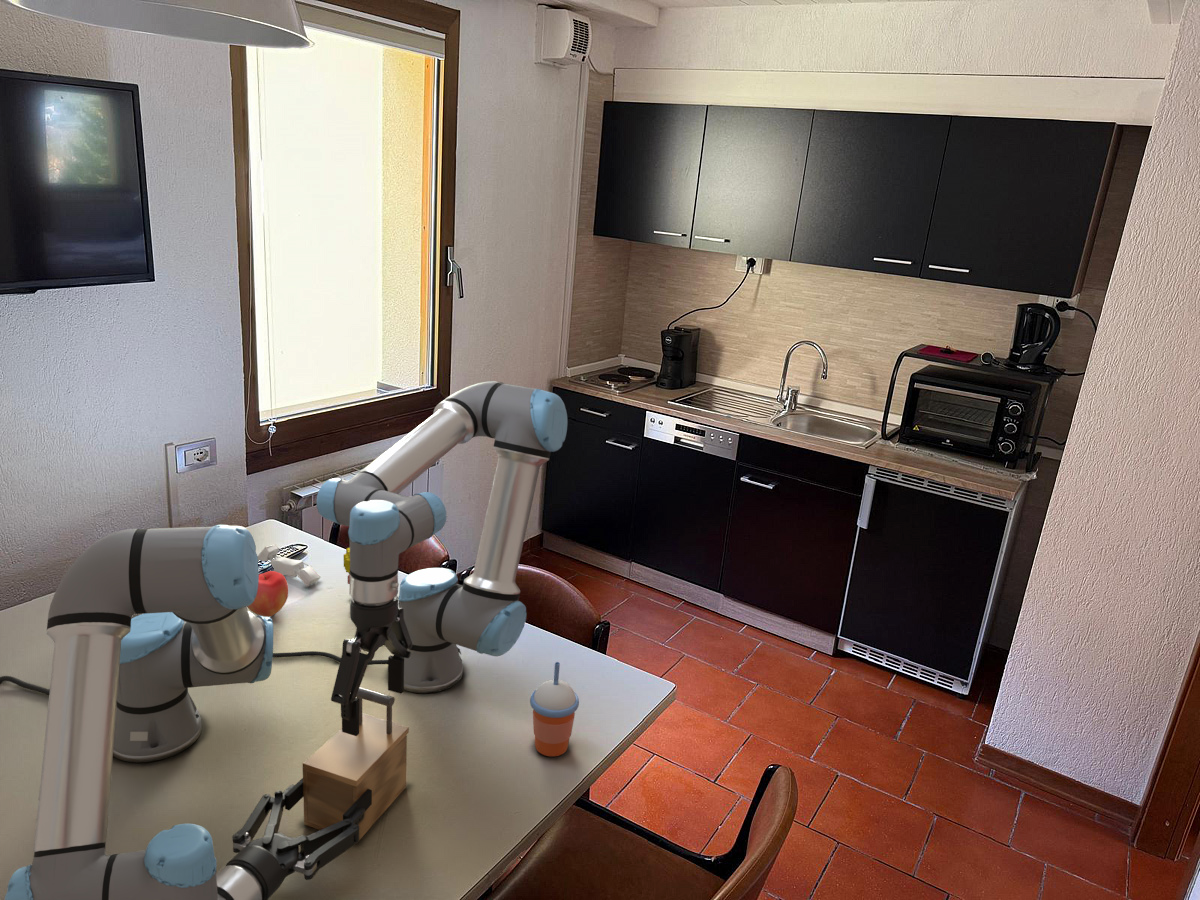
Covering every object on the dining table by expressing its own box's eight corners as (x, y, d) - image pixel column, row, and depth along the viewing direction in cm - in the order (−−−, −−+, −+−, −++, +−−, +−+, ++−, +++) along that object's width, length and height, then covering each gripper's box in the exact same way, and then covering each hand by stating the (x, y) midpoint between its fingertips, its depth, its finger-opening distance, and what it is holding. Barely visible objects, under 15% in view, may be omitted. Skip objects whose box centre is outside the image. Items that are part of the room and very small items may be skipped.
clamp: (253, 565, 223) (254, 542, 221) (265, 560, 226) (266, 537, 224) (309, 593, 215) (310, 569, 213) (320, 588, 218) (321, 564, 216)
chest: (357, 771, 151) (356, 719, 148) (406, 787, 149) (407, 734, 145) (304, 824, 138) (302, 769, 135) (356, 843, 135) (356, 787, 132)
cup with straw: (568, 766, 157) (575, 680, 152) (521, 756, 158) (526, 671, 153) (580, 737, 165) (586, 655, 160) (534, 728, 167) (540, 646, 162)
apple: (273, 600, 207) (272, 562, 204) (297, 613, 202) (296, 575, 199) (237, 614, 200) (234, 575, 197) (261, 628, 194) (259, 588, 191)
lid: (358, 717, 149) (358, 676, 147) (408, 732, 146) (409, 691, 144) (302, 769, 135) (301, 724, 133) (356, 787, 132) (356, 742, 130)
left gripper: (179, 881, 122) (283, 786, 142) (312, 935, 115) (402, 826, 135) (175, 838, 120) (282, 747, 140) (311, 890, 113) (402, 787, 133)
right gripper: (347, 636, 125) (349, 759, 131) (433, 571, 147) (431, 680, 153) (305, 624, 127) (308, 746, 133) (396, 562, 149) (395, 669, 156)
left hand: (341, 786), depth 138 cm, fingers closed on chest, 10 cm apart
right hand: (374, 711), depth 143 cm, fingers open, 12 cm apart
